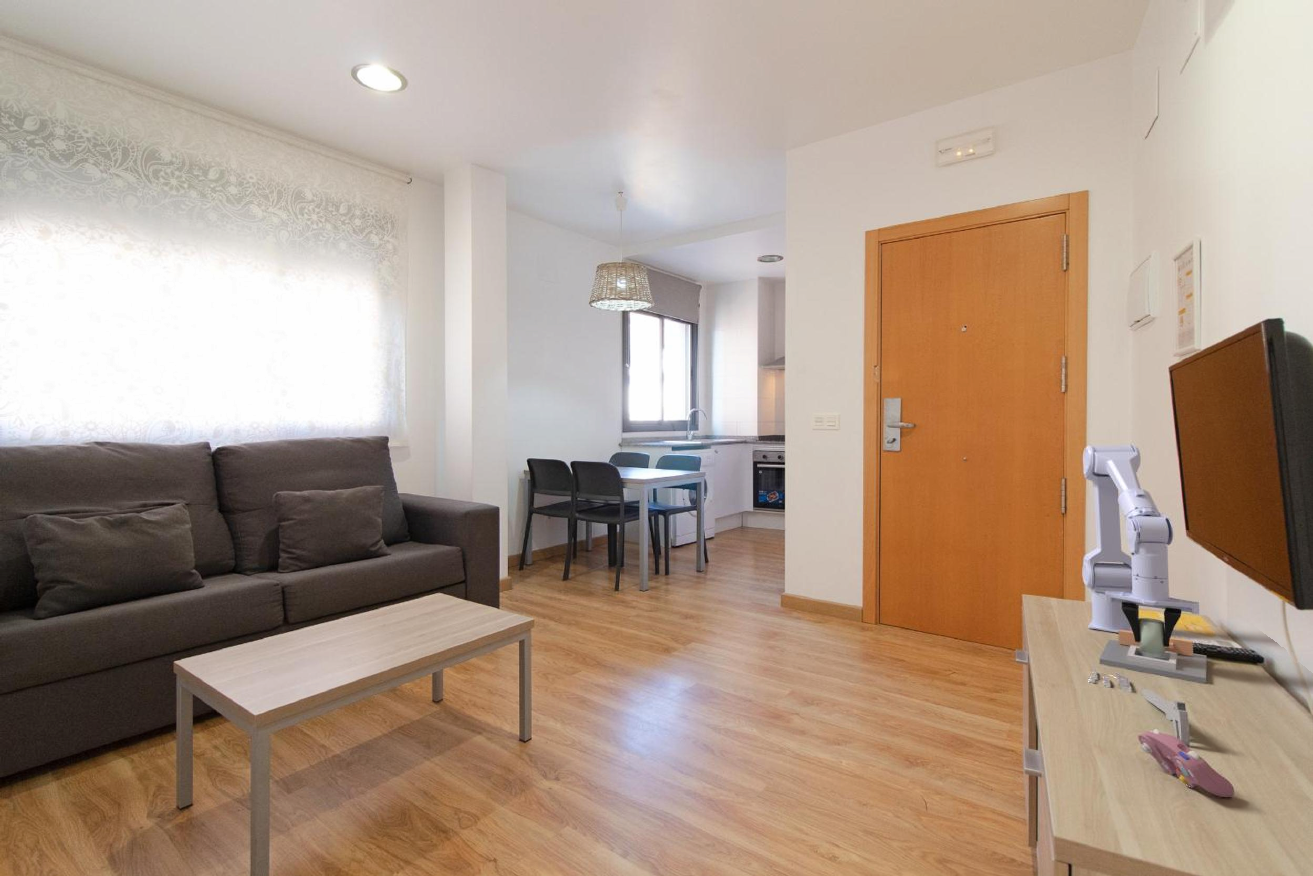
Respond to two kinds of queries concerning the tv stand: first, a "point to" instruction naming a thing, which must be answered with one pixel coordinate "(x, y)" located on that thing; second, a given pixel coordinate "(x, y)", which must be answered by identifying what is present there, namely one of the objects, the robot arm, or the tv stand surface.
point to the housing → (1155, 662)
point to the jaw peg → (1151, 636)
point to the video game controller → (1184, 763)
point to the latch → (1174, 646)
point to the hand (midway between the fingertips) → (1151, 643)
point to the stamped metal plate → (1122, 681)
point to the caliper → (1172, 714)
